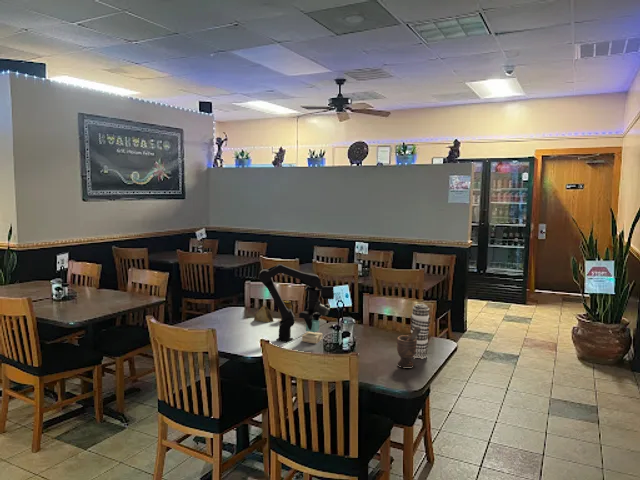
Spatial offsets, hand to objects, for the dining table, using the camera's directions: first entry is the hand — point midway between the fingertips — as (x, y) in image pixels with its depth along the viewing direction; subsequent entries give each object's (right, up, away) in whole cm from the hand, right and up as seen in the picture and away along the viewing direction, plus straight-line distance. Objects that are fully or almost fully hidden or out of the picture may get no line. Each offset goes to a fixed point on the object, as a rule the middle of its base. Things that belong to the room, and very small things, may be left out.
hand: (312, 328), depth 248 cm
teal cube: (0, -1, 0) cm, 1 cm away
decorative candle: (+51, -10, -18) cm, 55 cm away
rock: (-30, -2, +34) cm, 45 cm away
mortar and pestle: (+43, -11, -34) cm, 56 cm away
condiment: (-16, -2, +34) cm, 38 cm away
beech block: (0, -7, +1) cm, 7 cm away
